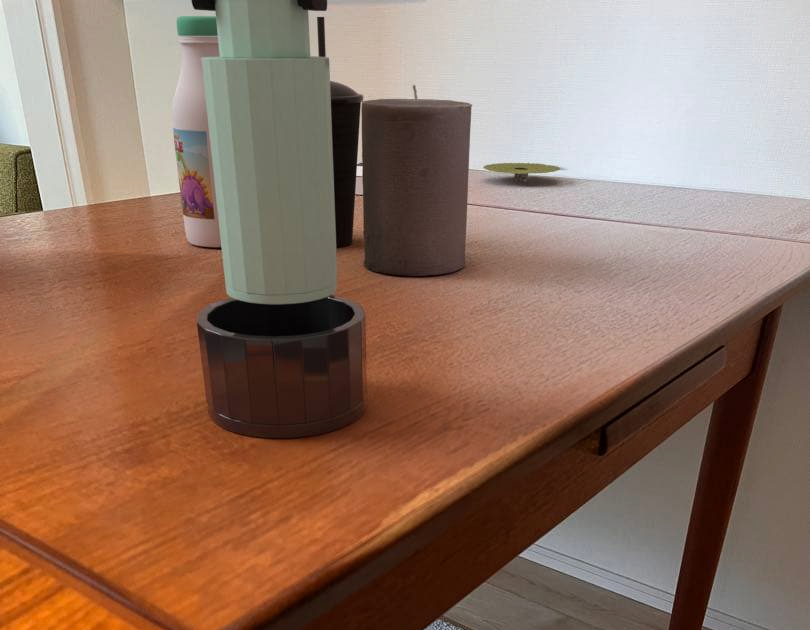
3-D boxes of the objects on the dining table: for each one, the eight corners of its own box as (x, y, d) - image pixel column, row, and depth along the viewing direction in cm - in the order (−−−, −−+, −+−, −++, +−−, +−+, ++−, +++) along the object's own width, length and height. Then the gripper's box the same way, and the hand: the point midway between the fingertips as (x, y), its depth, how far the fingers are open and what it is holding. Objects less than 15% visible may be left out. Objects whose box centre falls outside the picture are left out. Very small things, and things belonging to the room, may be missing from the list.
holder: (185, 433, 46) (171, 334, 43) (236, 375, 54) (227, 288, 51) (350, 443, 45) (347, 343, 42) (378, 382, 53) (377, 294, 50)
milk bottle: (254, 231, 92) (236, 17, 82) (267, 246, 86) (249, 15, 75) (183, 236, 90) (155, 16, 79) (190, 251, 84) (161, 15, 73)
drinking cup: (348, 253, 83) (341, 16, 73) (279, 247, 85) (263, 16, 75) (377, 238, 89) (374, 17, 79) (312, 233, 92) (301, 17, 81)
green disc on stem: (538, 189, 118) (540, 174, 117) (468, 182, 123) (469, 168, 122) (571, 180, 126) (572, 165, 125) (504, 173, 131) (505, 160, 130)
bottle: (210, 302, 44) (159, -140, 34) (245, 273, 49) (208, -117, 39) (323, 307, 43) (302, -143, 34) (346, 277, 48) (334, -119, 39)
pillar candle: (346, 271, 77) (341, 86, 69) (387, 249, 85) (386, 80, 77) (446, 281, 74) (452, 89, 66) (479, 258, 82) (488, 83, 74)
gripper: (463, -557, 32) (448, 12, 41) (45, -525, 34) (123, 12, 43) (444, -705, 25) (432, 8, 35) (-69, -655, 27) (51, 8, 37)
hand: (261, 5), depth 39 cm, fingers closed on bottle, 4 cm apart
